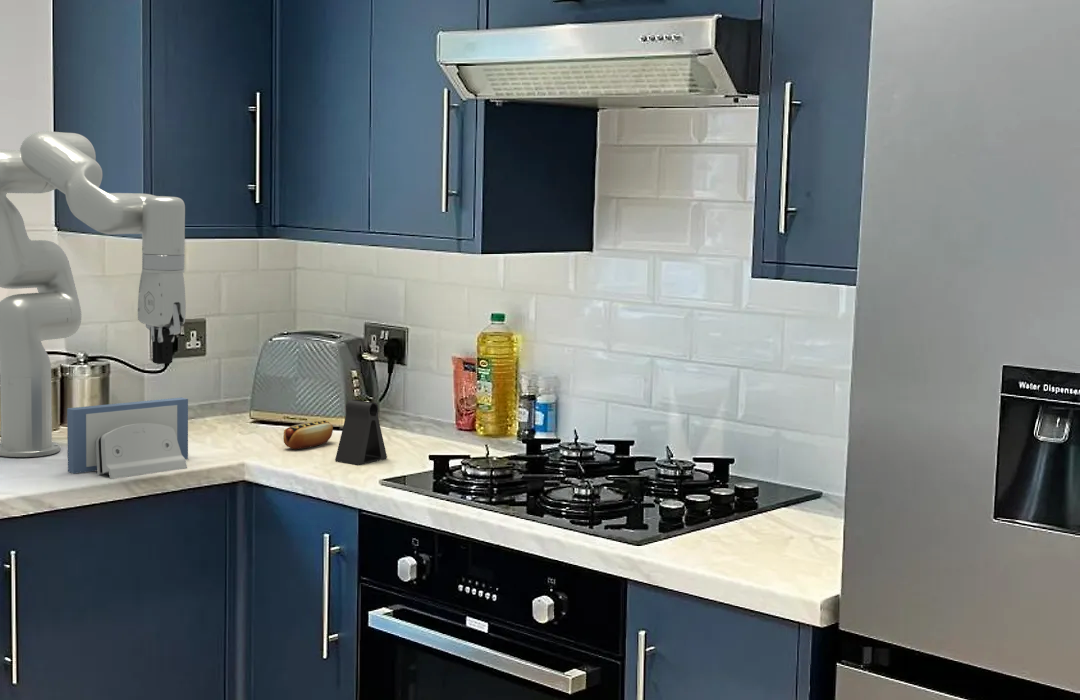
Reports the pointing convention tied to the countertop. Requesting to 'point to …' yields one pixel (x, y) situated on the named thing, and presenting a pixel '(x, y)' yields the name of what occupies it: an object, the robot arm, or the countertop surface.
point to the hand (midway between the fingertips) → (162, 362)
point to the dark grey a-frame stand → (361, 435)
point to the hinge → (138, 451)
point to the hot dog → (308, 434)
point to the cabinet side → (104, 418)
